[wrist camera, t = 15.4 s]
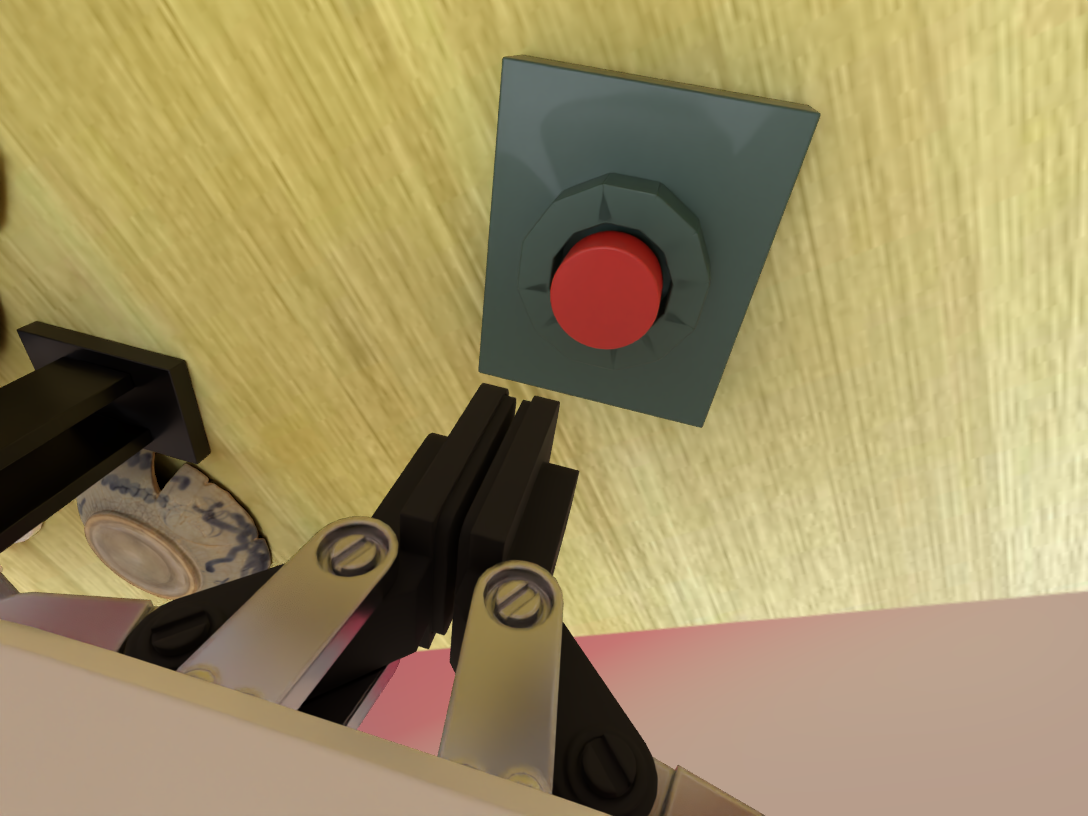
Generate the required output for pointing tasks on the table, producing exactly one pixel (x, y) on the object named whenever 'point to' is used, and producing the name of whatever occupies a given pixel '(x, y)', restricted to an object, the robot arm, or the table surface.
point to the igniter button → (607, 290)
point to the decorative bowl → (169, 530)
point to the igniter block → (633, 223)
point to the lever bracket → (86, 420)
